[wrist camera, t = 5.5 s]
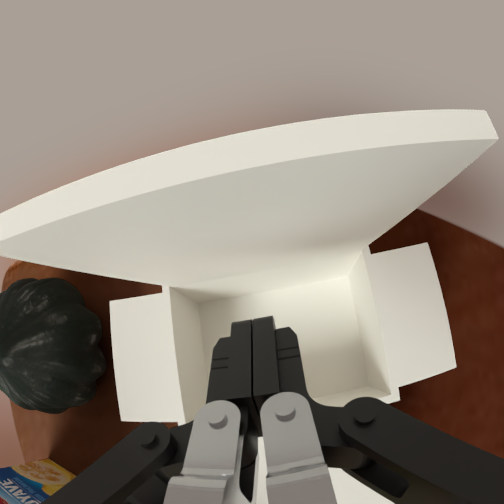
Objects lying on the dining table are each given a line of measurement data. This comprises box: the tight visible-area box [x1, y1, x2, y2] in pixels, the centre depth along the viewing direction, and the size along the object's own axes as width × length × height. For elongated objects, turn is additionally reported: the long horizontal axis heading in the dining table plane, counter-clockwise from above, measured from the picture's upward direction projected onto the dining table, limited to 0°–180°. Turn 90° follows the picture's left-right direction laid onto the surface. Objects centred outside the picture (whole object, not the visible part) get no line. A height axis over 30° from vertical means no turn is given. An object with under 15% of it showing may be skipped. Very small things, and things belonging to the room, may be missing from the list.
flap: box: [0, 110, 499, 287], centre depth 14 cm, size 14×1×17 cm, turn 99°
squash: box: [0, 278, 106, 414], centre depth 25 cm, size 14×15×15 cm
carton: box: [110, 242, 456, 504], centre depth 23 cm, size 26×21×8 cm
